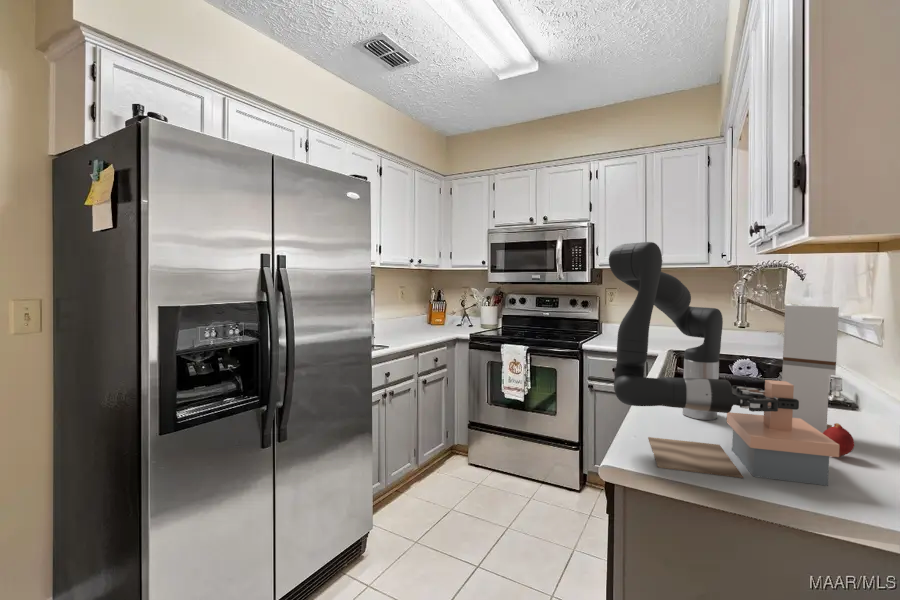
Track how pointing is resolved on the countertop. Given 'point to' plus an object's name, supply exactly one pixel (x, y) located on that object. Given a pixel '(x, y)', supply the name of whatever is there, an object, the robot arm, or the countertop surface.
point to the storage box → (782, 463)
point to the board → (693, 457)
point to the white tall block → (810, 359)
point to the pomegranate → (840, 438)
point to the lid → (781, 428)
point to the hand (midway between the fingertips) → (792, 401)
